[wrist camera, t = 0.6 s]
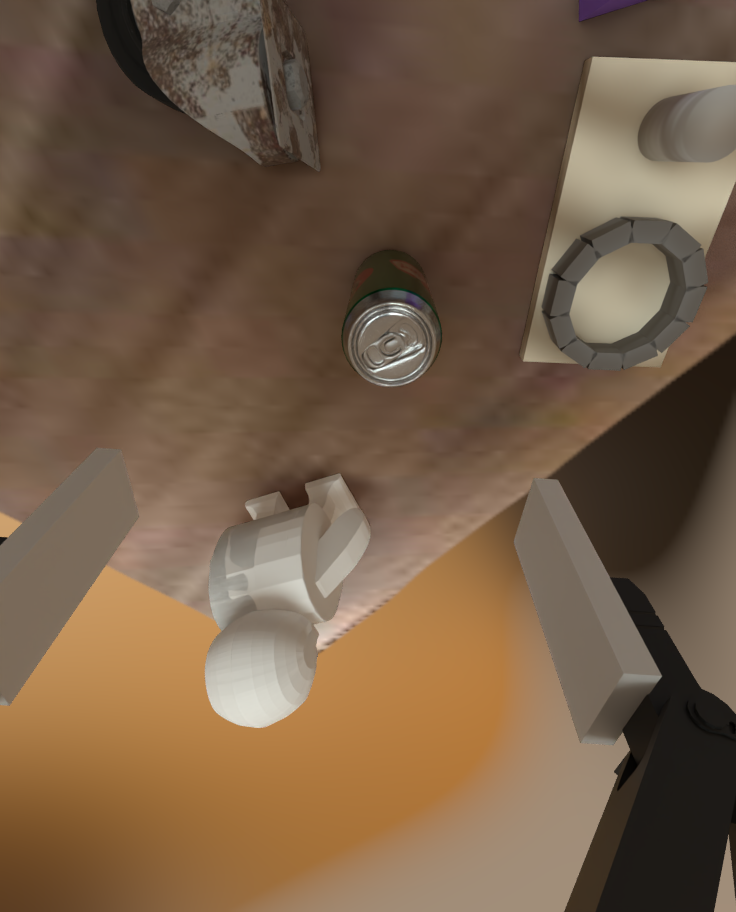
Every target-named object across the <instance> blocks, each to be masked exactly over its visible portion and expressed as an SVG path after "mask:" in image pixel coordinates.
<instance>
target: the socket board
mask: <svg viewBox="0 0 736 912" xmlns="http://www.w3.org/2000/svg"><path fill="white" fill-rule="evenodd" d="M735 182H736V62H715V61H690V60H664V59H639V58H614V57H591V58H589V59H587V60H585V62H584V66H583V71H582V75H581V80H580V84H579V89H578V93H577V98H576V102H575V107H574V111H573V116H572V120H571V125H570V129H569V134H568V138H567V142H566V147H565V151H564V156H563V160H562V165H561V169H560V174H559V178H558V183H557V187H556V192H555V196H554V201H553V205H552V210H551V214H550V219H549V223H548V228H547V232H546V237H545V241H544V246H543V250H542V255H541V259H540V264H539V268H538V273H537V277H536V281H535V286H534V290H533V295H532V299H531V304H530V308H529V313H528V317H527V322H526V326H525V331H524V335H523V340H522V344H521V349H520V353H519V356H520V357H521V359H522V360H523V361H529V362H552V363H574V364H580V365H581V366H583V367H584V368H585V367H587V368H588V369H597V370H619V371H620V370H621V367H622V368H623V369H624V370H625V369H627V368H630V367H632V366H641V367H661V365H662V362H663V360H664V357H665V355H666V352H667V350H668V347H669V346H670V345H671V344H672V343H673V342H674V341H675V340H676V339H677V338H678V337H679V336H680V335H681V334H682V333H683V332H684V331H685V330H686V329H687V328H688V327H689V325H688V324H687V323H686V322H693V320H694V318H695V315H696V313H697V311H698V308H699V306H700V303H701V301H702V299H703V296H704V294H705V291H706V289H707V287H706V286H704V284H706V283H708V279H707V271H706V264H705V256H706V253H707V251H708V248H709V246H710V243H711V241H712V239H713V236H714V234H715V231H716V229H717V226H718V224H719V221H720V219H721V216H722V214H723V211H724V209H725V206H726V204H727V201H728V199H729V196H730V194H731V191H732V189H733V187H734V184H735Z"/></svg>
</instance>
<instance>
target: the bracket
mask: <svg viewBox="0 0 736 912" xmlns="http://www.w3.org/2000/svg"><path fill="white" fill-rule="evenodd" d="M643 1H647V0H579V22H580V21H583V20H586V19H589V18H593V17H596V16H599V15H602V14H605V13H608V12H612V11H615V10H618V9H621V8H624V7H628V6H631V5H634V4H637V3H640V2H643Z"/></svg>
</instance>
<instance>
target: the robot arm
mask: <svg viewBox="0 0 736 912" xmlns="http://www.w3.org/2000/svg"><path fill="white" fill-rule="evenodd" d="M138 517H139V513H138V510H137V506H136V502H135V499H134V495H133V491H132V487H131V484H130V480H129V476H128V473H127V469H126V465H125V462H124V458H123V454H122V450H120V449H106V448H96V449H95V450H94V451H93V452H92V453H91V454H90V455H89V457H88V458H87V459H86V460H85V461H84V462H83V463H82V464H81V465H80V466H79V467H78V468H77V469H76V470H75V471H74V472H73V473H72V474H71V475H70V476H69V477H68V478H67V479H66V480H65V481H64V482H63V483H62V484H61V485H60V486H59V487H58V488H57V489H56V490H55V491H54V492H53V493H52V494H51V495H50V496H49V497H48V498H47V499H46V500H45V501H44V502H43V503H42V504H41V505H40V506H39V507H38V508H37V509H36V510H35V511H34V512H33V513H32V514H31V515H30V516H29V517H28V518H27V519H26V520H25V521H24V522H23V523H22V524H21V525H20V526H19V527H18V528H17V529H16V530H15V531H14V532H13V533H12V534H11V535H10V536H9V537H8V538H7V537H0V705H10V704H11V703H12V701H13V700H14V698H15V697H16V695H17V694H18V692H19V691H20V690H21V688H22V687H23V685H24V684H25V682H26V681H27V679H28V678H29V676H30V675H31V673H32V672H33V671H34V669H35V668H36V666H37V665H38V663H39V662H40V660H41V659H42V657H43V656H44V655H45V653H46V651H47V650H48V649H49V647H50V646H51V644H52V643H53V641H54V640H55V638H56V637H57V636H58V634H59V633H60V631H61V630H62V628H63V627H64V625H65V624H66V622H67V621H68V620H69V618H70V617H71V615H72V614H73V612H74V611H75V609H76V608H77V606H78V605H79V603H80V602H81V601H82V599H83V597H84V596H85V595H86V593H87V591H88V590H89V589H90V587H91V586H92V584H93V583H94V582H95V580H96V579H97V577H98V576H99V574H100V573H101V571H102V570H103V568H104V567H105V566H106V564H107V563H108V561H109V560H110V558H111V557H112V555H113V554H114V552H115V551H116V550H117V548H118V547H119V545H120V544H121V542H122V541H123V539H124V538H125V536H126V535H127V533H128V532H129V531H130V529H131V528H132V526H133V525H134V523H135V522H136V520H137V519H138ZM514 545H515V548H516V551H517V553H518V557H519V559H520V562H521V566H522V569H523V571H524V575H525V578H526V581H527V584H528V587H529V589H530V593H531V595H532V599H533V602H534V605H535V608H536V611H537V614H538V617H539V620H540V623H541V626H542V629H543V632H544V635H545V638H546V641H547V644H548V647H549V650H550V653H551V656H552V659H553V662H554V665H555V668H556V671H557V674H558V677H559V680H560V683H561V686H562V689H563V692H564V695H565V698H566V701H567V704H568V707H569V710H570V713H571V716H572V720H573V723H574V725H575V728H576V731H577V734H578V738H579V741H580V743H587V744H602V745H614V744H615V742H616V741H617V739H618V738H619V736H620V735H621V734H622V732H623V733H624V736H625V738H626V740H627V743H628V745H629V748H630V751H629V752H628V754H627V755H626V756H625V758H624V759H623V760H622V762H621V763H620V764H619V766H618V767H617V768H616V770H615V771H614V772H615V773H616V774H617V775H618V777H617V779H616V782H615V784H614V787H613V790H612V792H611V795H610V797H609V800H608V802H607V805H606V807H605V810H604V812H603V815H602V818H601V820H600V822H599V825H598V827H597V830H596V833H595V835H594V838H593V840H592V843H591V845H590V848H589V850H588V853H587V855H586V858H585V861H584V863H583V865H582V868H581V871H580V873H579V876H578V878H577V881H576V883H575V886H574V888H573V891H572V893H571V896H570V899H569V901H568V903H567V906H566V909H565V911H564V912H714V908H715V903H716V898H717V892H718V887H719V881H720V876H721V871H722V865H723V860H724V854H725V850H726V844H727V839H728V834H729V841H730V851H731V860H732V870H733V879H734V888H735V898H736V714H735V713H734V712H733V711H732V709H731V708H730V707H729V706H728V705H727V704H726V703H724V702H723V701H722V700H720V699H719V698H718V697H716V696H715V695H714V694H712V693H709V692H707V691H705V690H703V689H701V687H700V686H699V685H698V683H697V681H696V680H695V678H694V676H693V675H692V673H691V671H690V670H689V668H688V666H687V665H686V663H685V661H684V660H683V658H682V656H681V655H680V653H679V651H678V649H677V648H676V646H675V644H674V643H673V641H672V639H671V638H670V636H669V634H668V632H667V631H666V630H664V626H663V624H662V622H661V621H660V619H659V617H658V616H656V615H655V610H654V609H653V607H652V605H651V604H650V602H649V601H648V599H647V597H646V595H645V594H644V593H643V592H642V591H641V590H640V589H639V588H638V587H637V586H635V585H634V584H633V583H632V582H631V581H630V580H629V579H626V578H610V577H609V576H608V574H607V572H606V570H605V568H604V566H603V564H602V562H601V561H600V559H599V557H598V555H597V553H596V551H595V549H594V547H593V545H592V543H591V542H590V540H589V538H588V536H587V534H586V532H585V530H584V529H583V527H582V525H581V523H580V521H579V519H578V517H577V515H576V514H575V511H574V510H573V508H572V506H571V504H570V502H569V500H568V498H567V496H566V495H565V493H564V491H563V489H562V487H561V485H560V483H559V481H558V480H552V479H538V478H534V479H533V482H532V485H531V489H530V492H529V495H528V498H527V501H526V504H525V507H524V511H523V514H522V517H521V520H520V523H519V526H518V530H517V533H516V536H515V539H514Z"/></svg>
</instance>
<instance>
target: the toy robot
mask: <svg viewBox="0 0 736 912" xmlns="http://www.w3.org/2000/svg"><path fill="white" fill-rule="evenodd" d="M305 490H306V492H307V494H308V496H309V504H308V505H305V506H302V507H298V508H295V509H291V510H290V509H289V508H288V506H287V504H286V502H285V501H284V499H283V497H282V495H281V494H280V492H279V491H278V492H275V493H271V494H268V495H265V496H261V497H258V498H255V499H251V500H248V501H246V503H245V507H246V509H247V510H248V512H249V513H250V515H251V517H252V518H253V521H249V522H246V523H242V524H239V525H235V526H232V527H229V528H227V529H226V530H225V531H224V532H223V534H222V535H221V537H220V538H219V540H218V543H217V545H216V548H215V550H214V554H213V556H212V558H211V560H210V574H209V598H210V605H211V609H212V613H213V616H214V619H215V621H216V623H217V625H218V626H219V628H220V629H221V632H220V633H219V634H218V635H217V636H216V638H215V639H214V640H213V642H212V644H211V646H210V648H209V651H208V654H207V658H206V665H205V681H206V688H207V694H208V696H209V700H210V703H211V705H212V707H213V709H214V710H215V711H216V712H217V713H218V714H219V715H220V716H222V717H223V718H225V719H226V720H228V721H230V722H233V723H235V724H237V725H240V726H248V727H256V728H262V727H266V726H269V725H270V724H273V723H275V722H277V721H279V720H281V719H283V718H285V717H287V716H288V715H289V714H291V713H292V712H293V711H295V710H296V709H297V708H298V707H299V706H300V705H301V704H302V703H303V702H304V701H305V700H306V698H307V696H308V694H309V691H310V689H311V686H312V683H313V679H314V675H315V671H316V661H317V657H318V652H317V648H316V643H317V639H318V636H319V633H318V631H317V630H316V628H315V627H314V625H313V624H318V623H322V622H327V621H329V620H331V619H332V618H333V617H334V615H335V613H336V610H337V607H338V604H339V600H340V596H341V591H342V586H343V579H344V578H345V577H346V576H347V575H348V574H349V573H350V572H351V571H352V570H353V569H354V567H355V566H356V565H357V563H358V561H359V560H360V558H361V557H362V555H363V554H364V552H365V550H366V548H367V546H368V543H369V540H370V537H371V533H370V525H369V523H368V521H367V519H366V517H365V515H364V513H363V511H362V510H361V509H360V507H359V506H358V504H357V502H356V500H355V499H354V497H353V495H352V493H351V492H350V490H349V488H348V487H347V485H346V483H345V481H344V480H343V478H342V476H341V474H340V473H338V474H335V475H332V476H328V477H325V478H322V479H318V480H315V481H312V482H308V483H305Z"/></svg>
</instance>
